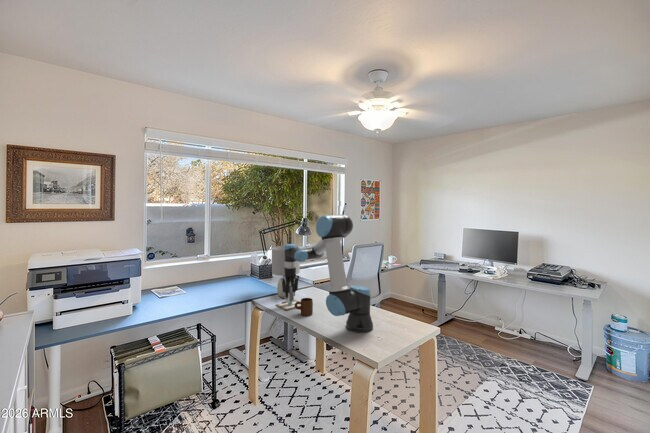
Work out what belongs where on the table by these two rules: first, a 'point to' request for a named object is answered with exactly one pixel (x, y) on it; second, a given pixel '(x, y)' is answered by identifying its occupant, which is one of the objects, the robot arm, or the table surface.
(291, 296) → the marker
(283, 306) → the clipboard
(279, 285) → the lamp
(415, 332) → the table surface
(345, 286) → the robot arm
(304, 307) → the mug
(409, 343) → the table surface
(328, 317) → the table surface
